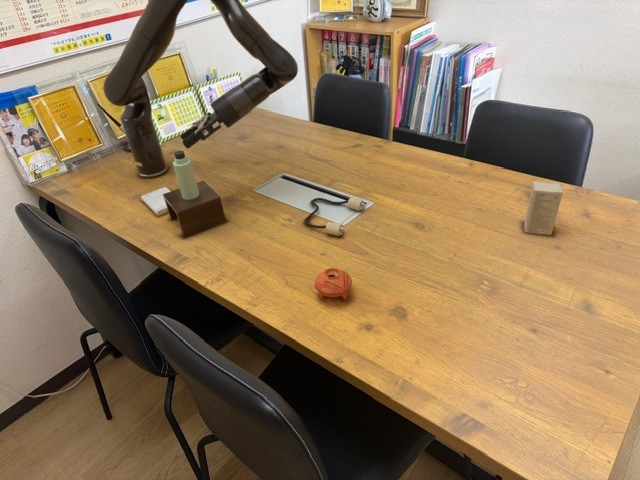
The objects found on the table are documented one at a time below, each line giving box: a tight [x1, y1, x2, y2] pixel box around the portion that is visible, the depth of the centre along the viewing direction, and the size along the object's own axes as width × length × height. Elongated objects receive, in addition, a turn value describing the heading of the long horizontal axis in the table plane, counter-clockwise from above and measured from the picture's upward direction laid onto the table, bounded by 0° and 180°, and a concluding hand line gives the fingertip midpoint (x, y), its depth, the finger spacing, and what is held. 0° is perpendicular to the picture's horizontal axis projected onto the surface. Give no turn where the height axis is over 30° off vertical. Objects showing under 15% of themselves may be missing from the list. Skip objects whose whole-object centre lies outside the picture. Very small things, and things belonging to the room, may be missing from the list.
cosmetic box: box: [523, 181, 564, 236], centre depth 107 cm, size 6×4×12 cm
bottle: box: [172, 150, 200, 200], centre depth 117 cm, size 5×5×13 cm
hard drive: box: [140, 186, 172, 217], centre depth 134 cm, size 2×8×12 cm
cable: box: [304, 196, 366, 237], centre depth 120 cm, size 16×16×4 cm
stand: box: [163, 180, 227, 238], centre depth 123 cm, size 12×12×8 cm
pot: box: [314, 267, 353, 301], centre depth 95 cm, size 8×8×7 cm
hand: (183, 142), depth 117 cm, fingers open, 8 cm apart
